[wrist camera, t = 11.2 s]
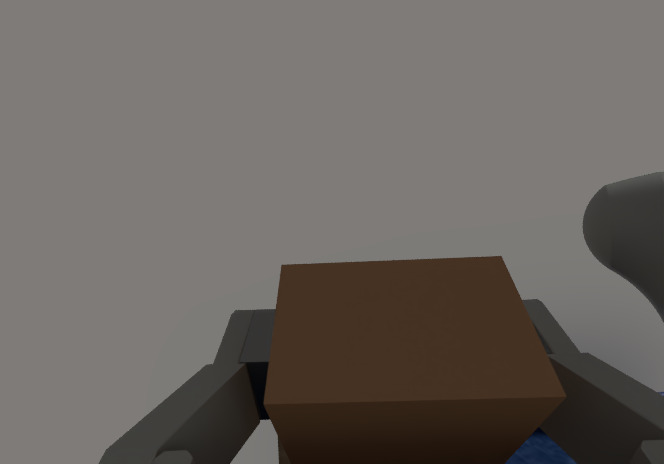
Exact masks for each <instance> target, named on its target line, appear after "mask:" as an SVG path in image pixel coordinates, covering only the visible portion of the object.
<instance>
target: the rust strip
mask: <svg viewBox="0 0 664 464" xmlns="http://www.w3.org/2000/svg"><path fill="white" fill-rule="evenodd" d="M566 397H567V396H566V394H565V392H564V390H563V388H562V385H561V383H560V381H559V379H558V377H557V375H556V373H555V370H554V368H553V366H552V364H551V362H550V360H549V357H548V355H547V353H546V351H545V349H544V347H543V345H542V342H541V340H540V338H539V336H538V334H537V332H536V330H535V327H534V325H533V323H532V321H531V319H530V317H529V314H528V312H527V310H526V308H525V306H524V304H523V302H522V300H521V297H520V295H519V293H518V291H517V289H516V287H515V284H514V282H513V280H512V278H511V276H510V274H509V272H508V269H507V267H506V265H505V263H504V261H503V259H502V257H501V256H494V257H468V258H443V259H420V260H419V259H417V260H392V261H368V262H344V263H343V262H342V263H319V264H293V265H282V266H281V274H280V282H279V289H278V297H277V304H276V312H275V320H274V327H273V335H272V343H271V350H270V358H269V366H268V373H267V381H266V388H265V396H264V404H263V405H264V407H265V409H266V411H267V413H268V415H269V418H270V420H271V422H272V424H273V426H274V428H275V430H276V432H277V435H278V437H279V439H280V441H281V443H282V445H283V448H284V450H285V452H286V454H287V456H288V458H289V460H290V463H291V464H504V463H505V462H506V461H507V460H508V459H509V458H510V457H511V456H512V455H513V454H514V453H515V452H516V451H517V449H518V448H519V447H520V446H521V445H522V444H523V443H524V442H525V441H526V440H527V439H528V438H529V437H530V436H531V434H532V433H533V432H534V431H535V430H536V429H537V428H538V427H539V426H540V425H541V424H542V423H543V422H544V421H545V419H546V418H547V417H548V416H549V415H550V414H551V413H552V412H553V411H554V410H555V409H556V408H557V407H558V406H559V404H560V403H561V402H562V401H563V400H564V399H565V398H566Z"/></svg>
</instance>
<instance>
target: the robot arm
mask: <svg viewBox="0 0 664 464" xmlns="http://www.w3.org/2000/svg"><path fill="white" fill-rule="evenodd" d="M583 234H584V238H585V241H586V243H587V245H588V247H589V249H590V251H591V252H592V254H593V255H594V256H595V257H596V258H597V259H598V260H599V261H600V262H601V263H602V264H603V265H604V266H606V267H607V268H609V269H610V270H612V271H614V272H616V273H617V274H619V275H620V276H622V277H623V278H625V279H626V280H628V281H629V282H630V283H632V284H633V285H634V286H635V287H636V288H637V289H638V290H640V291H641V292H642V293H643V294H644V295H645V296H646V298H647V299H648V300H649V301H650V302H651V304H652V305H653V306H654V307H655V309H656V310H657V312H658V313H659V315H660V317H661V318H662V320H663V322H664V172H656V173H652V174H648V175H644V176H639V177H635V178H630V179H627V180H623V181H620V182H616V183H612V184H608V185H605V186H604V187H602V188H601V189H600V190H599V191H598V192H597V193H596V194H595V195H594V197H593V198H592V199H591V201H590V202H589V204H588V206H587V209H586V211H585V214H584V219H583ZM522 302H523V304H524V306H525V308H526V310H527V312H528V314H529V317H530V319H531V321H532V323H533V325H534V327H535V330H536V332H537V334H538V336H539V338H540V340H541V342H542V345H543V347H544V349H545V351H546V353H547V355H548V357H549V360H550V362H551V364H552V366H553V368H554V370H555V373H556V375H557V377H558V379H559V381H560V383H561V385H562V388H563V390H564V392H565V394H566V396H567V397H566V398H565V399H564V400H563V401H562V402H561V403H560V404H559V406H558V407H557V408H556V409H555V410H554V411H553V412H552V413H551V414H550V415H549V416H548V417H547V418H546V419H545V421H544V422H543V423H542V424H541V425H540V426H539V428H540V429H541V430H543V431H544V432H545V433H546V434H547V435H548V436H549V437H550V438H551V439H552V440H553V441H554V442H555V443H556V444H557V445H558V446H559V447H561V448H562V449H563V450H564V451H565V452H566V453H567V454H568V455H569V456H570V457H571V458H572V459H573V460H574V461H575V462H576V463H578V464H664V396H662V395H661V394H659V393H657V392H655V391H654V390H652V389H650V388H648V387H647V386H645V385H643V384H641V383H640V382H638V381H636V380H634V379H633V378H631V377H629V376H628V375H626V374H624V373H622V372H621V371H619V370H617V369H615V368H614V367H612V366H610V365H608V364H607V363H605V362H603V361H601V360H600V359H598V358H596V357H594V356H593V355H591V354H589V353H580V352H579V350H578V349H577V348H576V346H575V345H574V343H573V342H572V341H571V340H570V338H569V337H568V336H567V334H566V333H565V332H564V330H563V329H562V328H561V326H560V325H559V324H558V323H557V321H556V320H555V319H554V317H553V316H552V315H551V314H550V312H549V311H548V310H547V308H546V307H545V305H544V304H543V303H542V302H541V301H539V300H537V299H533V300H522ZM275 312H276V309H269V310H268V309H267V310H266V309H265V310H236V311H235V312H234V313H233V314H232V315H231V318H230V320H229V323H228V326H227V328H226V331H225V334H224V336H223V339H222V342H221V345H220V347H219V350H218V353H217V355H216V358H215V361H214V363H213V364H209V365H206V366H204V367H203V368H202V369H201V370H200V371H199V372H197V373H196V374H195V375H194V376H193V377H191V378H190V379H189V380H188V381H187V382H185V383H184V384H183V385H182V386H181V387H180V388H179V389H177V390H176V391H175V392H174V393H173V394H171V395H170V396H169V397H168V398H167V399H165V400H164V401H163V402H162V403H161V404H160V405H158V406H157V407H156V408H155V409H154V410H153V411H151V412H150V413H149V414H148V415H147V416H145V417H144V418H143V419H142V420H141V421H139V422H138V423H137V424H136V425H135V426H134V427H132V428H131V429H130V430H129V431H128V432H127V433H125V434H124V435H123V436H122V437H121V438H119V440H117V441H116V442H115V443H114V444H113V445H111V446H110V447H109V448H108V449H106V451H105V453H104V455H103V457H102V458H101V460H100V462H99V464H230V463H231V461H232V460H233V458H234V457H235V456H236V454H237V453H238V452H239V450H240V449H241V448H242V446H243V445H244V444H245V442H246V441H247V439H248V438H249V437H250V435H251V434H252V433H253V431H254V430H255V429H256V427H257V426H258V425H259V423H260V420H266V419H267V420H268V419H270V418H269V415H268V413H267V411H266V409H265V407H264V405H263V404H264V396H265V388H266V381H267V373H268V366H269V358H270V350H271V343H272V335H273V327H274V320H275Z"/></svg>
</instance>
